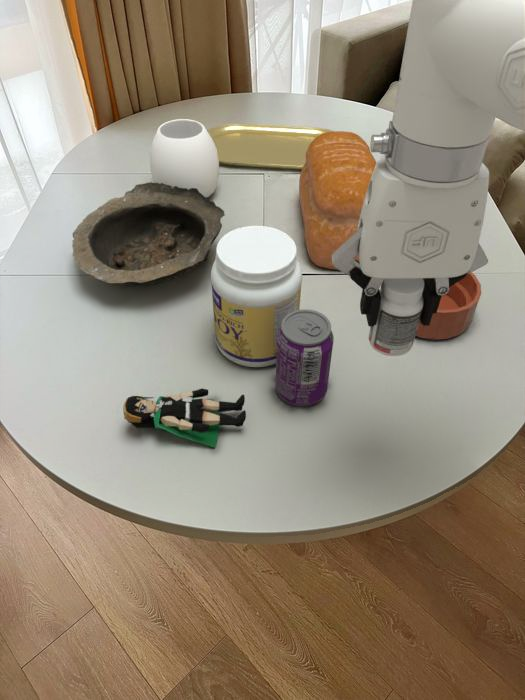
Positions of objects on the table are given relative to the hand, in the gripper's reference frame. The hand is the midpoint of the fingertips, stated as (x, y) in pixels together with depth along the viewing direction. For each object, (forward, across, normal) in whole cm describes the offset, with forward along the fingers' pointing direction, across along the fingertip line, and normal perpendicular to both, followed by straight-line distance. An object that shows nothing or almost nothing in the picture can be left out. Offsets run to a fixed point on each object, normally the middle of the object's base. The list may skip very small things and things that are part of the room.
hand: (396, 315), depth 58 cm
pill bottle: (+4, 0, 0) cm, 4 cm away
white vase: (+20, -28, +59) cm, 68 cm away
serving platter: (+20, -9, +77) cm, 80 cm away
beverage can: (+20, -8, +7) cm, 23 cm away
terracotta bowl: (+20, +13, +23) cm, 33 cm away
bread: (+20, +1, +46) cm, 50 cm away
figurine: (+20, -24, +1) cm, 31 cm away
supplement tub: (+20, -14, +17) cm, 30 cm away
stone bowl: (+20, -32, +36) cm, 52 cm away
